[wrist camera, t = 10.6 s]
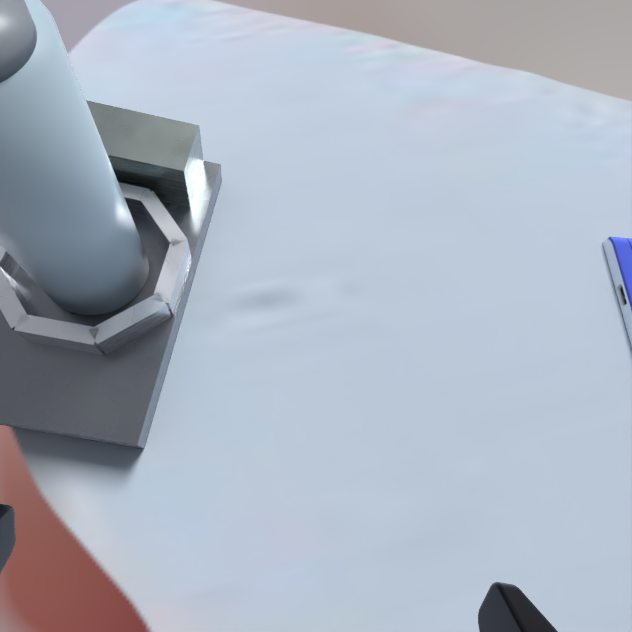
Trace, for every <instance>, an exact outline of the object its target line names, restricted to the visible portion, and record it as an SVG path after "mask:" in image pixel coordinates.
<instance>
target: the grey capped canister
mask: <svg viewBox="0 0 632 632" xmlns="http://www.w3.org/2000/svg"><path fill="white" fill-rule="evenodd" d="M0 245H1V246H2V247H3V248H4V249H5V250H6V251H7V252H8V253H9V254H10V255H11V256H12V258H13V259H14V260H15V261H16V262H17V263H18V264H19V265H20V266H21V267H22V268H23V269H24V270H25V271H26V272H27V274H28V275H29V276H30V277H31V278H32V279H33V280H34V281H35V282H36V283H37V284H38V285H39V286H40V287H41V288H42V290H43V291H44V292H45V293H46V294H47V295H48V296H49V297H50V298H51V299H52V300H53V301H54V302H55V303H56V304H57V305H59V306H60V307H62V308H63V309H65V310H67V311H70V312H73V313H76V314H81V315H100V314H105V313H109V312H112V311H115V310H117V309H119V308H121V307H123V306H125V305H126V304H128V303H129V302H130V301H132V300H133V299H134V298H135V297H136V296H137V295H138V294H139V292H140V291H141V290H142V288H143V286H144V284H145V283H146V280H147V277H148V272H149V262H148V257H147V254H146V251H145V249H144V246H143V244H142V241H141V239H140V236H139V234H138V231H137V229H136V226H135V224H134V221H133V219H132V216H131V213H130V211H129V208H128V206H127V203H126V201H125V198H124V196H123V193H122V191H121V188H120V186H119V183H118V181H117V178H116V175H115V173H114V170H113V168H112V165H111V163H110V160H109V158H108V155H107V153H106V150H105V148H104V145H103V142H102V140H101V137H100V135H99V132H98V130H97V127H96V125H95V122H94V120H93V117H92V115H91V112H90V110H89V107H88V104H87V102H86V99H85V97H84V94H83V92H82V89H81V87H80V84H79V82H78V79H77V77H76V74H75V71H74V69H73V66H72V64H71V61H70V59H69V56H68V54H67V51H66V49H65V46H64V44H63V41H62V39H61V36H60V33H59V31H58V28H57V26H56V23H55V21H54V19H53V17H52V15H51V13H50V12H49V10H48V9H47V8H46V7H45V6H44V5H43V3H41V1H40V0H0Z"/></svg>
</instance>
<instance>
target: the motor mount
mask: <svg viewBox="0 0 632 632" xmlns="http://www.w3.org/2000/svg"><path fill="white" fill-rule="evenodd" d="M86 102H87V104H88V107H89V110H90V112H91V115H92V117H93V120H94V122H95V125H96V127H97V130H98V132H99V135H100V137H101V140H102V142H103V145H104V148H105V150H106V153H107V155H108V158H109V160H110V163H111V165H112V168H113V170H114V173H115V175H116V178H117V181H118V183H119V186H120V188H121V191H122V193H123V196H124V198H125V201H126V203H127V206H128V208H129V211H130V213H131V216H132V219H133V221H134V224H135V226H136V229H137V231H138V234H139V236H140V239H141V241H142V244H143V246H144V249H145V251H146V254H147V257H148V262H149V272H148V277H147V280H146V283H145V284H144V286H143V288H142V290H141V291H140V292H139V294H138V295H137V296H136V297H135V298H134V299H133V300H132V301H130V302H129V303H128V304H126V305H125V306H123V307H121V308H119V309H117V310H115V311H112V312H109V313H105V314H100V315H81V314H76V313H73V312H70V311H67V310H65V309H63V308H62V307H60V306H59V305H57V304H56V303H55V302H54V301H53V300H52V299H51V298H50V297H49V296H48V295H47V294H46V293H45V292H44V291H43V290H42V288H41V287H40V286H39V285H38V284H37V283H36V282H35V281H34V280H33V279H32V278H31V277H30V276H29V275H28V274H27V272H26V271H25V270H24V269H23V268H22V267H21V266H20V265H19V264H18V263H17V262H16V261H15V260H14V259H13V258H12V256H11V255H10V254H9V253H8V252H7V251H6V250H5V249H4V248H3V247H2V246H1V245H0V425H6V426H12V427H18V428H24V429H30V430H36V431H42V432H48V433H54V434H60V435H66V436H71V437H77V438H83V439H89V440H95V441H101V442H107V443H113V444H119V445H125V446H131V447H137V448H143V449H144V447H145V444H146V440H147V437H148V433H149V430H150V427H151V423H152V420H153V416H154V413H155V409H156V406H157V402H158V399H159V396H160V392H161V389H162V385H163V382H164V378H165V375H166V371H167V368H168V365H169V361H170V358H171V354H172V351H173V347H174V344H175V340H176V337H177V333H178V330H179V327H180V323H181V320H182V316H183V313H184V309H185V306H186V302H187V299H188V296H189V292H190V289H191V285H192V282H193V278H194V275H195V271H196V268H197V265H198V261H199V258H200V254H201V251H202V247H203V244H204V240H205V237H206V234H207V230H208V227H209V223H210V220H211V216H212V213H213V209H214V206H215V202H216V199H217V196H218V192H219V189H220V185H221V182H222V178H221V164H216V163H212V162H207V161H203V154H202V146H201V138H200V129H199V126H198V125H194V124H189V123H185V122H181V121H176V120H172V119H167V118H163V117H158V116H154V115H149V114H145V113H140V112H136V111H131V110H127V109H122V108H118V107H113V106H109V105H104V104H100V103H95V102H91V101H86Z"/></svg>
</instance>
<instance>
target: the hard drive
mask: <svg viewBox="0 0 632 632" xmlns="http://www.w3.org/2000/svg"><path fill="white" fill-rule="evenodd" d="M602 243H603V246H604V250H605V253H606V257H607V260H608V264H609V268H610V271H611V275H612V278H613V282H614V285H615V289H616V293H617V296H618V300H619V303H620V307H621V311H622V314H623V318H624V322H625V325H626V329H627V332H628V336H629V340H630V343H631V347H632V239H630V238H619V237H609V238H608V239H606V240H605V241H603V242H602Z"/></svg>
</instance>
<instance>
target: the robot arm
mask: <svg viewBox="0 0 632 632" xmlns="http://www.w3.org/2000/svg"><path fill="white" fill-rule="evenodd" d="M15 541H16V533H15V513H14V509H13V508H12V506H9V505H3V504H0V573H1V571H2V569H3V568H4V566H5V564H6V562H7V560H8V559H9V557H10V555H11V553H12V551H13V548H14V545H15ZM478 624H479V630H480V632H558V631H557V630H556V629H555V628H554V627H553V626H552V625H551V624H550V622H549V621H548V620H547V619H546V618H545V617H544V616H543V615H542V614H541V612H540V611H539V610H538V609H537V608H536V607H535V606H534V605H533V603H532V602H531V601H530V600H529V599H528V598H527V597H526V596H525V595H524V593H523V592H522V591H521V590H520V589H519V588H518V587H516V586H515V585H512V584H506V583H500V582H495V583H494V584H492V585H491V587H490V589H489V591H488V593H487V595H486V597H485V599H484V601H483V603H482V605H481V607H480V609H479V614H478Z"/></svg>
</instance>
